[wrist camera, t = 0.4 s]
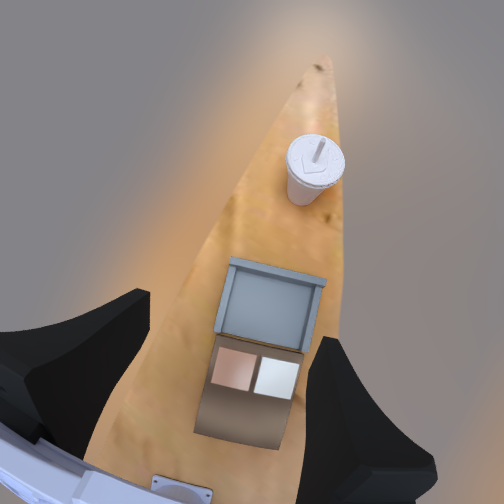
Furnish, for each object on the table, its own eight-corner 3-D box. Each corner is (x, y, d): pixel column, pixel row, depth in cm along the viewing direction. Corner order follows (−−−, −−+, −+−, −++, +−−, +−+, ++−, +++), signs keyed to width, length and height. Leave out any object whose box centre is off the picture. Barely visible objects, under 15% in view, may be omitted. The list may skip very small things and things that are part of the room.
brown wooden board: (275, 442, 35) (278, 450, 32) (196, 425, 35) (193, 432, 32) (299, 352, 38) (304, 354, 35) (218, 334, 38) (216, 335, 35)
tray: (303, 351, 38) (310, 353, 34) (214, 330, 38) (212, 331, 34) (318, 283, 40) (327, 279, 36) (231, 262, 40) (230, 256, 36)
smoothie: (266, 195, 42) (279, 138, 28) (295, 162, 43) (316, 99, 29) (306, 225, 41) (337, 179, 28) (333, 190, 42) (369, 136, 29)
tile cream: (287, 395, 34) (290, 399, 32) (252, 388, 34) (253, 392, 32) (296, 362, 35) (299, 364, 33) (261, 354, 35) (262, 356, 33)
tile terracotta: (247, 387, 34) (248, 391, 32) (212, 379, 34) (210, 382, 32) (256, 353, 35) (257, 355, 33) (220, 345, 35) (219, 346, 33)
